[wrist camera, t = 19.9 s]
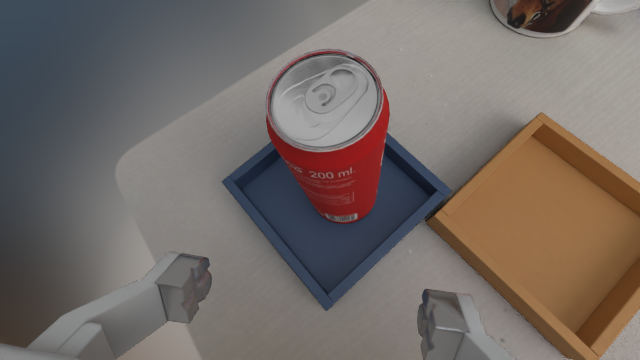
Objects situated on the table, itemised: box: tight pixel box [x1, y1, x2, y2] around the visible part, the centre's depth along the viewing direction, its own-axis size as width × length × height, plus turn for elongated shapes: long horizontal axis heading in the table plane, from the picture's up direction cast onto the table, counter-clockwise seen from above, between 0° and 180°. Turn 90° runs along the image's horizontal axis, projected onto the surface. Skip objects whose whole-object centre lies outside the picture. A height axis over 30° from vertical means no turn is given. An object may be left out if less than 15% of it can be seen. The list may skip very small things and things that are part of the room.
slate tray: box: [222, 133, 452, 311], centre depth 26 cm, size 14×14×2 cm
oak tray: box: [426, 112, 640, 360], centre depth 24 cm, size 14×14×2 cm
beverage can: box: [266, 49, 390, 224], centre depth 19 cm, size 6×6×15 cm
